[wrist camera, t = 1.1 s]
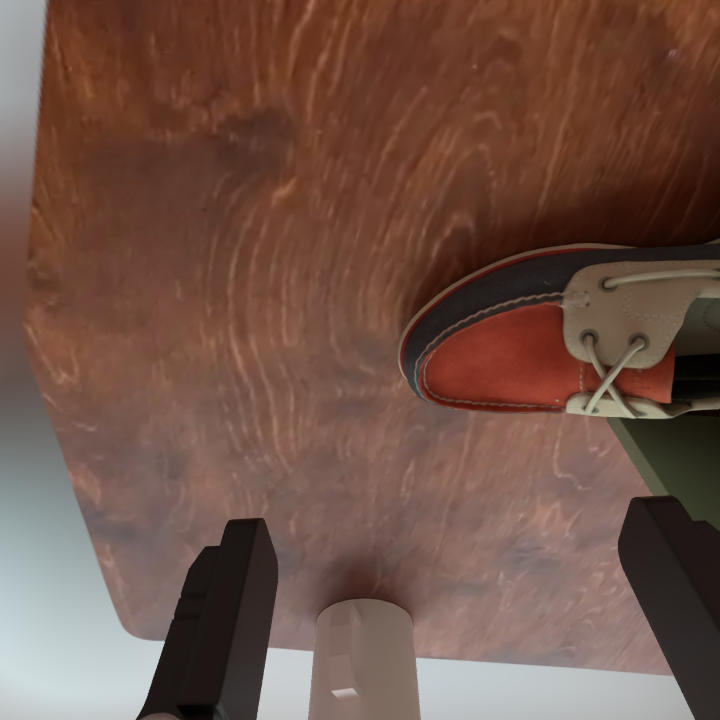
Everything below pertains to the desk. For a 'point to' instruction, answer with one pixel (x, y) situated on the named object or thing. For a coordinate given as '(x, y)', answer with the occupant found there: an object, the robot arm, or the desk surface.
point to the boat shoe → (574, 334)
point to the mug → (364, 663)
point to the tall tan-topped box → (677, 459)
